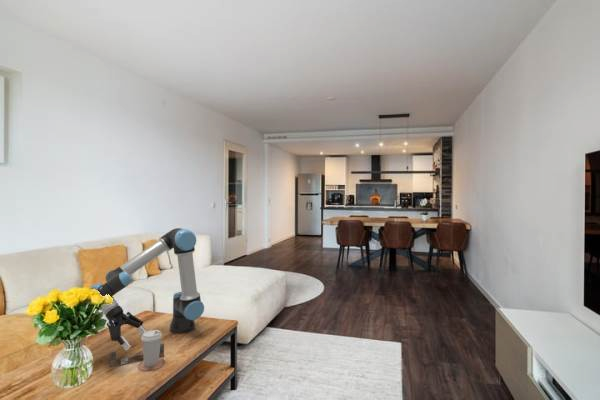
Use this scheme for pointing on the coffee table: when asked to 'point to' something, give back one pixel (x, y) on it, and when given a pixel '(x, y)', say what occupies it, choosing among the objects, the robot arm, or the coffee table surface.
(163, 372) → the coffee table surface
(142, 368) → the rail
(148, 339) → the coffee cup
